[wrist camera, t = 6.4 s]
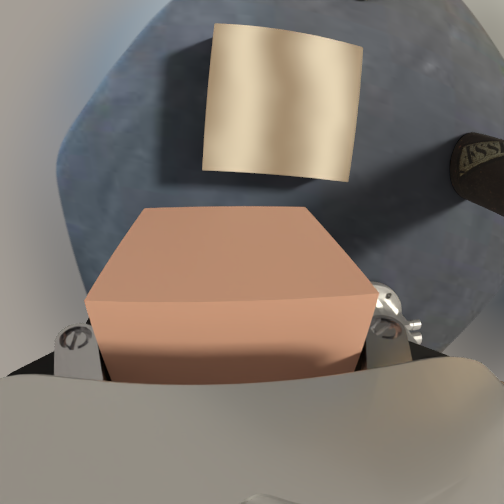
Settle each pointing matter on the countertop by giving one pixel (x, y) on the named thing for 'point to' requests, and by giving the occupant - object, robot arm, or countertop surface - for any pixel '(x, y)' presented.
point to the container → (479, 170)
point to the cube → (229, 298)
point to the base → (281, 103)
